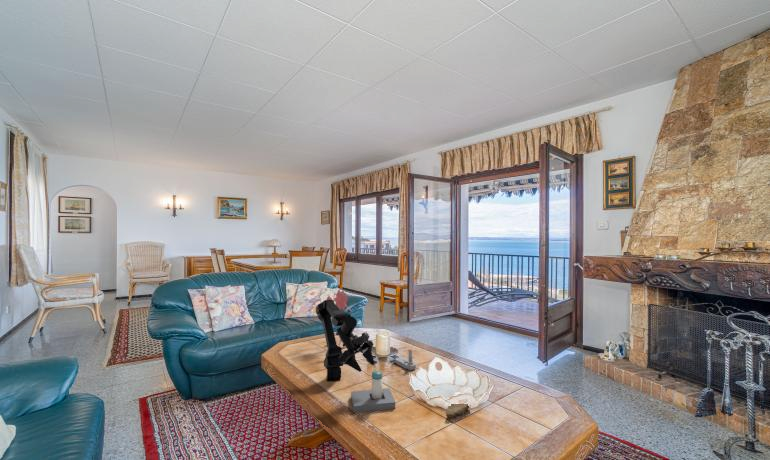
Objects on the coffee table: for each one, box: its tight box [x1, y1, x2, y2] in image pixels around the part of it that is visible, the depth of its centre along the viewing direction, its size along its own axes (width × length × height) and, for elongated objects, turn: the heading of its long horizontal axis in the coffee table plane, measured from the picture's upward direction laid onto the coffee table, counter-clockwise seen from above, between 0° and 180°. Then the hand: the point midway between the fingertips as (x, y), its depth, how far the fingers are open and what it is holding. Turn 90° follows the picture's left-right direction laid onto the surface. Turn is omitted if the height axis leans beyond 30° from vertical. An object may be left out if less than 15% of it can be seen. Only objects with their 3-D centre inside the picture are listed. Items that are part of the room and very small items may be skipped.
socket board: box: [350, 387, 396, 413], centre depth 148 cm, size 17×13×2 cm
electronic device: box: [394, 349, 417, 371], centre depth 189 cm, size 5×10×15 cm
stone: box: [445, 404, 470, 421], centre depth 139 cm, size 14×7×5 cm, turn 146°
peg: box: [371, 370, 383, 400], centre depth 148 cm, size 4×4×12 cm
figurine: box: [326, 289, 353, 352], centre depth 224 cm, size 15×26×35 cm, turn 46°
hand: (367, 367), depth 151 cm, fingers open, 9 cm apart
